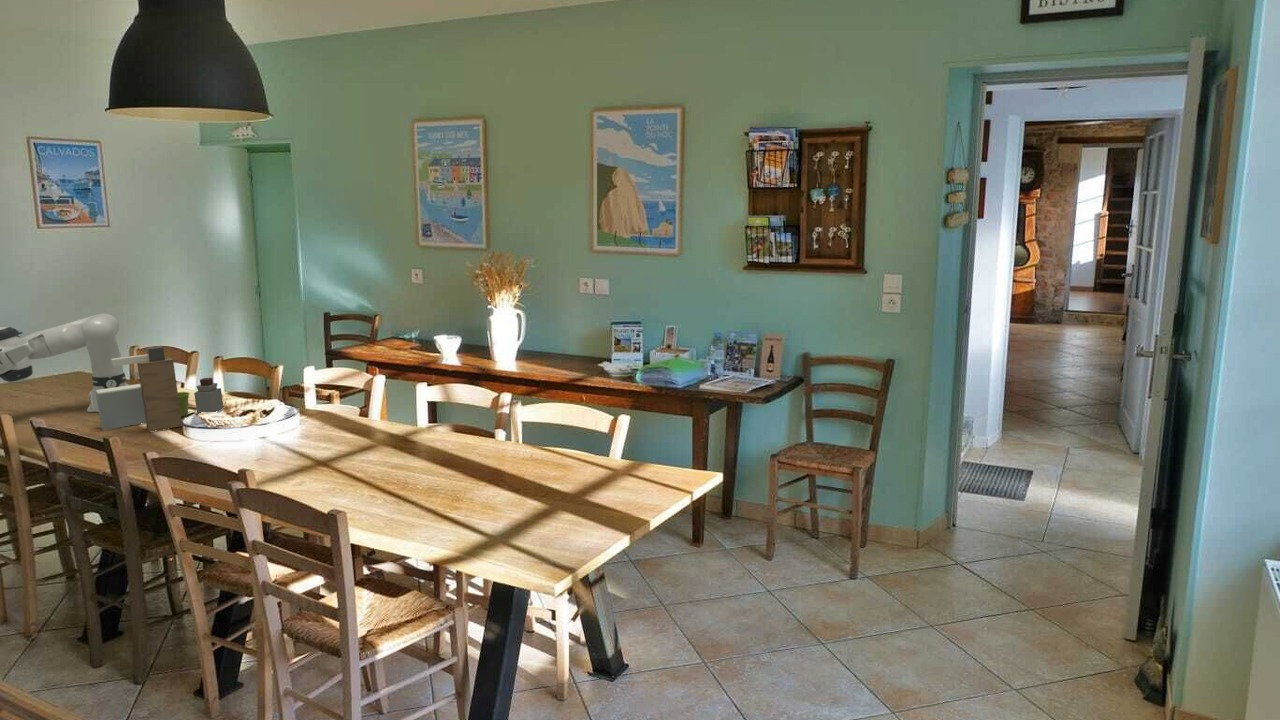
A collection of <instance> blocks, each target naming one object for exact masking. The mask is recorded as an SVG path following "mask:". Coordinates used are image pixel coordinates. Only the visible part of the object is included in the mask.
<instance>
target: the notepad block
mask: <svg viewBox="0 0 1280 720" xmlns="http://www.w3.org/2000/svg"><path fill="white" fill-rule="evenodd" d="M96 398H97V404H98V411H99V412H98V416H99V422H100V428H101V429H102V431H103V432H104V431H109V430H116V429H121V428H120V427H122V428H125V427H124V426H128V427H130V426H129V425H134V426H137V425H136V424H140V425H142V424H141V423H146V420H145V414H144V407H143V400H142V393H141V386H140V383H137V384H136V383H135V384H128V386H121V387H114V388H107V389H100V390H96Z"/></svg>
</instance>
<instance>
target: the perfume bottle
mask: <svg viewBox="0 0 1280 720" xmlns="http://www.w3.org/2000/svg"><path fill="white" fill-rule="evenodd" d="M213 379H214V378H213V377H203V378H201V379H199V382H200V383H199V385H196V389H197V391H195V392H194V393H193V394H194V401H195V402H194V403H195V409H196V416H197V415H198V414H199V413H201V412H216V411H219V410H221V409H222V408H224V401H223V392H222V388H221V387H220V388H218V382H213V381H214V380H213Z"/></svg>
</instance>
